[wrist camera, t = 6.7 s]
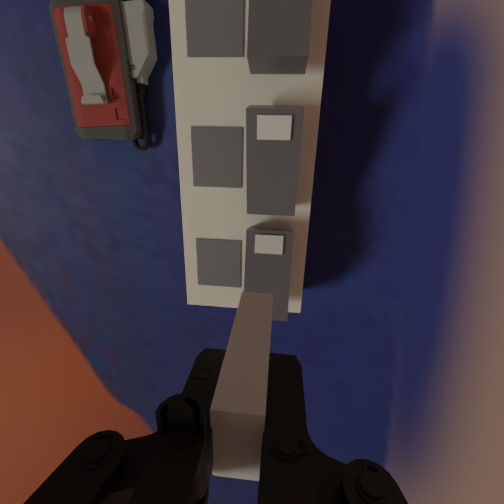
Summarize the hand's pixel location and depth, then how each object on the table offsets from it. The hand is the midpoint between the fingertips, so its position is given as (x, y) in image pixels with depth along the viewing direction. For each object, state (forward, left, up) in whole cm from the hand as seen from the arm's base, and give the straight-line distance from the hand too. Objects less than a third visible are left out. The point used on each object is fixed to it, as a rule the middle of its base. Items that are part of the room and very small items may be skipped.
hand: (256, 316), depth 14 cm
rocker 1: (-17, 0, -13) cm, 21 cm away
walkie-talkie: (-17, -16, -19) cm, 30 cm away
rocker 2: (-7, 0, -13) cm, 14 cm away
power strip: (-9, -2, -19) cm, 21 cm away
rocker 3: (+3, 0, -13) cm, 13 cm away
